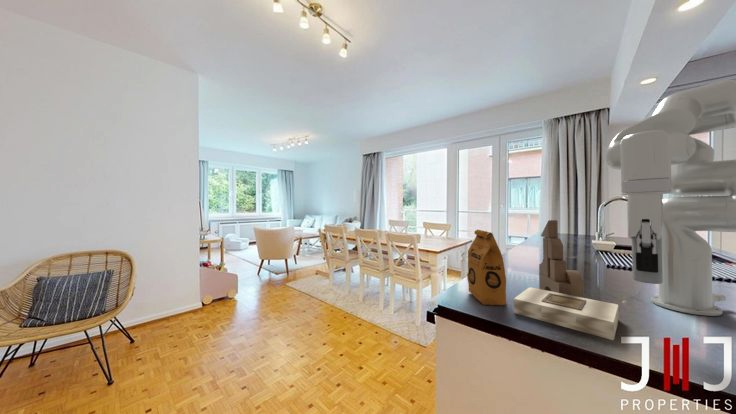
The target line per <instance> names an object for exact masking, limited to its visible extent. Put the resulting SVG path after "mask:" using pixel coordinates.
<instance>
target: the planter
mask: <svg viewBox="0 0 736 414" xmlns="http://www.w3.org/2000/svg"><path fill="white" fill-rule="evenodd" d="M640 239H642V236H640ZM651 239H653V237H651ZM656 239H657V238H656ZM651 243H652V242H651ZM636 252H637V235H636V237H632V239H631V259H632V260H631V261H632V262H631V263H632V264H631V265H632V269H631V270H632V279H633V280H634V281H636V282H639V283H644V284H651V285H659V284H661V283H663V270H662V237H661V238H660V239H659V240H656V254H658V272H657V273H653V272H644V271H638V270H637V269H636ZM652 254H653V252H652Z"/></svg>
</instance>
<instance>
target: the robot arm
mask: <svg viewBox="0 0 736 414" xmlns="http://www.w3.org/2000/svg"><path fill="white" fill-rule="evenodd" d="M734 128H736V80H735V79H725V80H720V81H716V82H712V83H708V84H705V85H700V86H697V87H693V88H689V89H686V90H685V89H684V90H680V91H677V92H675V93H672V94H670V95H668V96H667V97H665V98H663V99H662V100H661V101H660V102H659V104H658V105H657V107H656V108H655V109H654V111H653V113H652V114H651V116H649V117H647V118H645V119H643V120H641V121H639V122H637V123H634V124H633V125H630V126H628V127H627V128H625V129H622V130H621V131H620V132H619V133H617V134H616V135H615V137H614V138H613V139H612V140H611V142H610V143H609V145H608V147H607V149H606V154H605V160H606V163H607V165H608V166H609V167H610V168H612V169H613V170H617V171H620V180H621V182H620V185H621V186H620V187H621V196H627V206H626V207H627V209H626V210H627V217H626V218H627V238H629V239H630V240H632V237H636V235H637V252H636V269H637V270H638V271H644V272H653V273H657V272H658V254H656V240H659V239H660V238H661V237H662V270H663V283H661V284H658V295H653V296H651V302H652V303H653V304H655V305H657V306H659V307H662V308H664V309H668V310H672V311H677V312H681V313H685V314H691V315H698V316H707V317H708V316H709V317H718V316H722V315H723V309H722V308H721V307H719V306H718V305H715V303H716V302H725V301H727V297H726V296H725V295H724V294H721V293H713V250H712V247H711V245H710V244H709V242H708V241H707V240H706V239H704V238H703V237H702V236H701V235H700V234H698V233H697V232H716V233H717V232H719V233H720V232H722V233H736V158H734V159H725V160H715V161H714V159H715V150H714V148H713V147H712V146H711V145H710V144H708V143H706V142H705V141H703V140H701V139H698V138H695V137H693V136H691V135H698V134H703V133H711V132H716V131H721V130H722V131H723V130H729V129H730V130H731V129H734ZM665 194H666V195H667V194H668V195H669V194H670V195H673V197H666V198H664V197H663V196H664V195H665ZM640 236H642V239H640ZM651 237H653V239H651ZM656 238H657V239H656ZM651 242H652V243H651ZM652 252H653V254H652Z"/></svg>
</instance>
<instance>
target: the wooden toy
mask: <svg viewBox="0 0 736 414" xmlns="http://www.w3.org/2000/svg"><path fill="white" fill-rule="evenodd" d="M558 223H559V222H558V220H557V219H549V220H548V221H547V223H546V225H545V226H544V228H543V230H542V233H541V234H540V237H543V238H542V255H543V256H542V257H543V258H542V261H541V263H539V265H538V268H539V270H538V272H539V273H538V274H539V275H538V276H539V277H538V278H539V280H538V281H539V282H538V283H539V285H538V286H539V288H538V289H542V290H547V291H552V292H557V293H562V294H567V295H572V296H577V297H582V298H584V281H583V278H582V276H581V274H580V273H579V271H578V270H572V269H571V270H569V269H567V262H566V260H564V245H563V243H562V240H561V238H559V237H558V235H559V231H558V230H559V229H558Z"/></svg>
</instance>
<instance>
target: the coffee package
mask: <svg viewBox="0 0 736 414" xmlns="http://www.w3.org/2000/svg"><path fill="white" fill-rule="evenodd" d="M474 235H476V236H475V238H474V240H473V241H472V243H471V245H470V246H469V248H468V250H467V274H466V276H467V284H468V292H469V293H470V294H471V295H473V297H474V298H475V299H476V300H477V301H478V302H480V303H481V304H482V305H483V306H487V305H490V306H506V305H507V277H506V276H507V275H506V270H505V262H504V258H503V254H502V252H501V250H500V247H499V244H498V243H497V241H496V238H495V236H494V234H493V232H489V231H488V230H487V231H486V230H482V229H476V230H475V231H474Z"/></svg>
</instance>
